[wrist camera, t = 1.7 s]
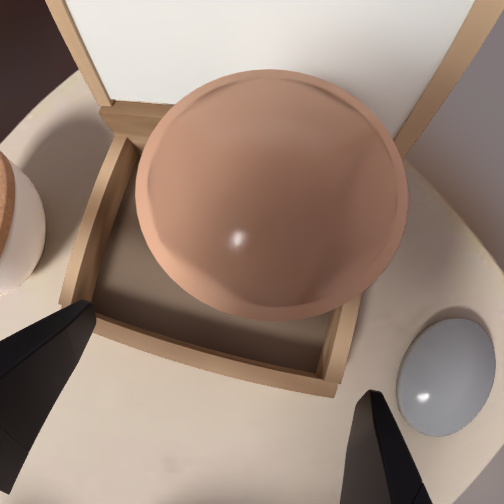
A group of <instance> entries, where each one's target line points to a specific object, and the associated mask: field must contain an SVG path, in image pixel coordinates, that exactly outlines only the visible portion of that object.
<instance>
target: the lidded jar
mask: <svg viewBox="0 0 504 504" xmlns="http://www.w3.org/2000/svg"><path fill="white" fill-rule="evenodd" d="M45 231H46V222H45V213H44V209H43V204H42V201H41V199H40V196H39V194H38V192H37V190H36V188H35V186H34V185H33V183H32V182H31V181H30V179H29V178H28V177H27V176H26V175H25V174H24V173H23V172H22V171H21V170H20V169H19V168H18V167H17V166H16V165H15V164H14V163H13V162H11V161H10V160H8V158H7V157H6V156H5V155H4V154H3V153H2V152H1V151H0V297H1V296H4V295H6V294H8V293H10V292H12V291H14V290H15V289H17V288H18V287H19V286H20V285H21V284H22V283H23V282H25V281H26V280H27V278H28V277H29V276H30V275H31V273H32V272H33V270H34V268H35V267H36V265H37V264H38V262H39V260H40V258H41V256H42V253H43V250H44V245H45Z"/></svg>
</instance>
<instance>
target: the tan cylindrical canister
mask: <svg viewBox="0 0 504 504" xmlns="http://www.w3.org/2000/svg"><path fill="white" fill-rule="evenodd" d="M135 199H136V208H137V215H138V219H139V223H140V227H141V230H142V233H143V235H144V238H145V240H146V242H147V245H148V247H149V249H150V250H151V252H152V254H153V255H154V257H155V259H156V260H157V262H158V263H159V264H160V266H161V267H162V268H163V269H164V271H165V272H166V273H167V274H168V275H169V277H170V278H171V279H172V280H174V281H175V282H176V283H177V284H178V285H179V286H180V287H181V288H182V289H183V290H185V291H186V292H188V293H189V294H190V295H192V296H193V297H195V298H196V299H198V300H199V301H201V302H203V303H205V304H207V305H209V306H211V307H213V308H215V309H217V310H219V311H222V312H225V313H228V314H231V315H234V316H237V317H241V318H247V319H252V320H258V321H278V322H282V321H291V320H301V319H305V318H309V317H313V316H317V315H321V314H324V313H326V312H328V311H331V310H333V309H336V308H338V307H340V306H342V305H344V304H345V303H347V302H349V301H351V300H352V299H354V298H356V297H357V296H358V295H359V294H361V293H362V292H363V291H364V290H366V289H367V288H368V287H369V286H371V285H372V283H373V282H374V281H375V280H376V279H377V278H378V277H379V276H380V275H381V274H382V273H383V271H384V270H385V268H386V267H387V266H388V264H389V263H390V261H391V260H392V258H393V256H394V254H395V252H396V250H397V248H398V246H399V244H400V242H401V239H402V236H403V232H404V229H405V226H406V220H407V214H408V185H407V177H406V173H405V169H404V165H403V162H402V159H401V156H400V154H399V152H398V149H397V147H396V145H395V143H394V141H393V139H392V138H391V136H390V134H389V132H388V131H387V130H386V128H385V127H384V126H383V124H382V123H381V122H380V120H379V119H378V118H377V117H376V116H375V115H374V114H373V113H372V112H371V111H370V110H369V108H367V107H366V106H365V105H364V104H363V103H362V102H360V101H359V100H358V99H357V98H355V97H354V96H352V95H351V94H349V93H348V92H346V91H345V90H343V89H341V88H340V87H338V86H336V85H334V84H332V83H330V82H328V81H325V80H322V79H320V78H317V77H315V76H311V75H307V74H304V73H300V72H294V71H288V70H276V69H262V70H250V71H244V72H238V73H234V74H230V75H227V76H223V77H221V78H218V79H216V80H213V81H211V82H208V83H206V84H204V85H203V86H201V87H199V88H197V89H195V90H194V91H192V92H191V93H189V94H188V95H186V96H185V97H184V98H182V99H181V100H180V101H179V102H178V103H176V104H175V105H174V106H173V107H172V108H171V109H170V110H169V111H168V112H167V113H166V114H165V116H164V117H163V118H162V119H161V120H160V121H159V123H158V124H157V126H156V127H155V129H154V130H153V132H152V133H151V135H150V137H149V139H148V141H147V143H146V145H145V147H144V150H143V153H142V156H141V159H140V162H139V166H138V171H137V177H136V190H135Z"/></svg>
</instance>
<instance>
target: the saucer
mask: <svg viewBox="0 0 504 504" xmlns="http://www.w3.org/2000/svg"><path fill="white" fill-rule="evenodd" d="M495 369H496V360H495V352H494V347H493V344H492V342H491V340H490V337H489V336H488V334H487V333H486V331H485V330H484V329H483V328H482V327H481V326H480V325H479V324H477V323H475V322H474V321H471V320H468V319H462V318H456V319H445V320H441V321H438V322H436V323H434V324H432V325H430V326H429V327H427V328H426V329H425V330H423V331H422V332H421V333H420V334H419V335H418V336H417V337H416V339H415V340H414V341H413V342H412V344H411V345H410V347H409V348H408V350H407V352H406V354H405V355H404V358H403V360H402V362H401V365H400V368H399V371H398V376H397V383H396V397H397V404H398V407H399V410H400V412H401V415H402V416H403V418H404V419H405V421H406V422H407V423H408V424H409V425H410V426H411V427H413V428H414V429H416V430H417V431H419V432H420V433H423V434H425V435H428V436H434V437H440V436H446V435H450V434H452V433H455V432H457V431H459V430H460V429H462V428H463V427H465V426H466V425H467V424H469V423H470V422H471V421H472V420H473V419H474V418H475V417H476V416H477V414H478V413H479V412H480V410H481V409H482V408H483V406H484V404H485V403H486V401H487V399H488V397H489V394H490V392H491V389H492V386H493V382H494V377H495Z"/></svg>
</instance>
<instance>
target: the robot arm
mask: <svg viewBox="0 0 504 504" xmlns="http://www.w3.org/2000/svg"><path fill="white" fill-rule="evenodd" d="M96 321H97V320H96V314H95V309H94V305H93V303H91V302H89V301H87V300H84V299H81V300H79V301H77V302H75V303H73V304H71V305H69V306H67V307H65V308H63V309H61V310H59V311H57V312H55V313H53V314H51V315H49V316H47V317H45V318H43V319H41V320H39V321H37V322H35V323H34V324H32V325H30V326H28V327H26V328H24V329H22V330H20V331H18V332H16V333H14V334H13V335H11V336H9V337H7V338H5V339H3V340H1V341H0V491H2V492H4V493H6V494H8V495H9V494H10V492H11V490H12V487H13V485H14V483H15V481H16V479H17V476H18V474H19V472H20V470H21V468H22V466H23V464H24V462H25V460H26V458H27V456H28V452H29V451H30V449H31V447H32V445H33V443H34V441H35V439H36V437H37V435H38V433H39V432H40V430H41V428H42V426H43V424H44V422H45V420H46V418H47V417H48V415H49V413H50V411H51V409H52V407H53V406H54V404H55V402H56V400H57V398H58V397H59V395H60V393H61V391H62V390H63V388H64V386H65V384H66V383H67V381H68V379H69V377H70V376H71V374H72V372H73V371H74V369H75V367H76V366H77V364H78V362H79V360H80V358H81V356H82V354H83V351H84V349H85V347H86V345H87V343H88V341H89V338H90V336H91V334H92V332H93V330H94V328H95V326H96ZM340 504H432V501H431V499H430V497H429V495H428V493H427V490H426V488H425V486H424V483H422V479H421V476H420V474H419V472H418V470H417V467H416V465H415V463H414V461H413V458H412V456H411V454H410V452H409V449H408V447H407V445H406V443H405V441H404V438H403V436H402V434H401V432H400V430H399V428H398V425H397V423H396V421H395V419H394V417H393V415H392V413H391V411H390V408H389V406H388V404H387V402H386V400H385V398H384V396H383V394H382V393H381V392H380V391H376V390H368V391H367V392H366V393H365V394H364V395H363V396H362V398H361V399H360V400H359V401H358V402H357V404H356V407H355V411H354V416H353V422H352V426H351V431H350V436H349V441H348V446H347V451H346V460H345V469H344V477H343V484H342V492H341V499H340Z"/></svg>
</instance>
